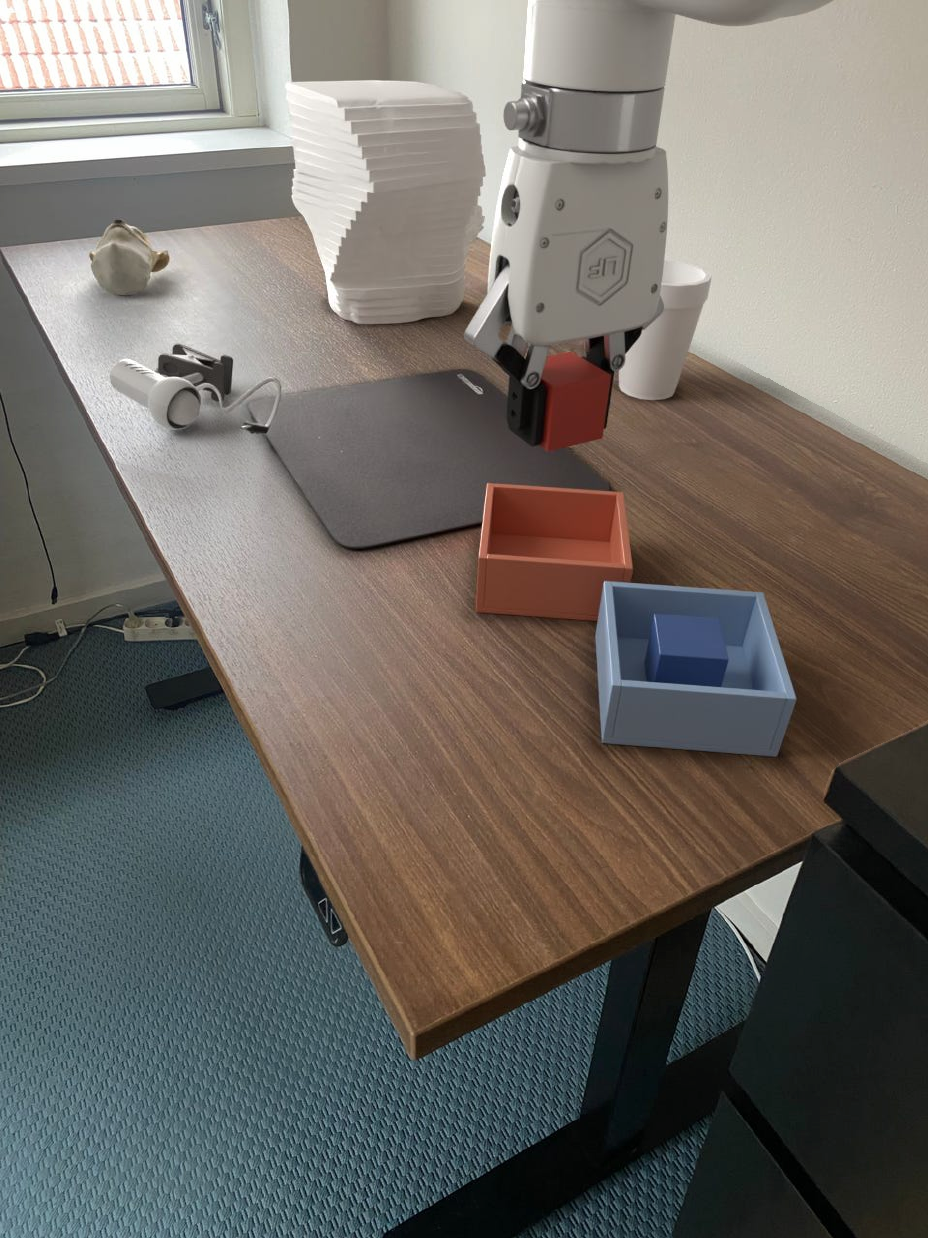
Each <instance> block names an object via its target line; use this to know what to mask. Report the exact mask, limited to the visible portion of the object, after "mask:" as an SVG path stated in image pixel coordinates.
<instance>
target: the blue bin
mask: <svg viewBox="0 0 928 1238" xmlns="http://www.w3.org/2000/svg"><path fill="white" fill-rule="evenodd" d="M654 614H665V615H679V616H692V617H706V618H718V619H719V621H720V625H721V629H722V633H723V637H724V641H725V646H726V650H727V654H728V658H729V661H728V665H727V668H726V672H725V676H724V679H723V683H722V687H709V686H696V685H683V684H670V683H657V682H647V681H646V673H645V665H644V661H645V656H646V652H647V647H648V642H649V637H650V632H651V627H652V622H653V617H654ZM772 619H773V618H772V616H771V613H770V610H769V606H768V604H767V600H766V597H765V594H764V592H761V591H748V590H735V589H734V590H733V589H720V588H708V587H707V588H705V587H693V586H678V585H666V584H665V585H664V584H652V583H651V584H649V583H639V582H638V583H635V582H631V583H625V582H610V581H604V584H603V590H602V597H601V603H600V609H599V616H598V621H596V622H597V623H596V628H595V629H596V630H595V637H594V638H595V652H596V654H595V655H596V669H597V685H598V702H599V703H598V704H599V718H600V719H599V720H600V736H601V743H602V744H609V745H623V746H636V747H647V748H659V749H671V750H672V749H673V750H687V751H697V752H698V751H699V752H711V753H712V752H713V753H725V754H736V755H747V756H761V757H762V756H764V757H774V758H776V757H778V754H779V753H780V749H781V746H782V743H783V740H784V738H785V735H786V732H787V728H788V726H789V723H790V720H791V717H792V714H793V711H794V708H795V705H796V702H797V696H796V692H795V689H794V686H793V683H792V680H791V676H790V674H789V670H788V666H787V664H786V661H785V658H784V654H783V651H782V647H781V645H780V642H779V638H778V636H777V632H776V629H775V626H774V622H773V620H772Z"/></svg>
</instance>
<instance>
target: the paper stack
mask: <svg viewBox="0 0 928 1238" xmlns="http://www.w3.org/2000/svg"><path fill="white" fill-rule="evenodd" d="M284 89H285V96H286V101H287V108H288V109H287V111H288V113H289V114H290V115H289V118H290V130H291V131H290V133H291V143H292V150H293V159H294V164H295V165H294V167H295V169H293V170H292V171H293V177H292V179H291V180H292V186H291V193H292V194H290V196H291V200H292V203H293V206H294V207H295V209H296V210H297V211H298V212H299V214H301V215H302V216H303V217H304V220H305V222H306V224H307V226H308V228H309V230H310V232H311V235H312V238H313V242H314V244H315V247H316V249H317V254H318V256H319V260H320V262H321V265H322V268H323V271H324V274H325V280H326V287H327V295H328V297H327V298H328V303H329V306H330V308H331V310H332V311H333V312H334V313H336V314H337V315H338V317H340V318H341V319H342V320H345V321H350V322H353V323H355V324H358V325H380V324H381V325H386V324H405V323H412V322H417V321H420V320H422V319H427V318H439V317H445V316H450V315H452V314H454V313H455V312H456V311H458V309H459V308H460V306H461V305H462V302H463V300H464V299H465V296H466V292H467V281H466V275H465V274H466V273H465V272H466V270H465V269H466V261H467V259H468V256H469V252H468V249H469V247H470V246H471V245H473V244H476V242H477V240H478V239H479V238H478V236H479V234H480V233H481V232H482V231H483V230H484V226H483V225H484V222H485V219H486V216H484V215H483V207H482V205H479V197H480V196H482V195H481V194H482V193H481V188H482V187H484V177H486V176H487V175H486V174H487V173H486V172H487V171H486V165H485V160H484V154H483V144H482V135H481V124H480V123H478V121H477V112H476V111H474V105H473V101H472V100H471V99H469V97H468V96H467V95H465V94H464V93H462V92H459V91H455V90H453V89H451V90H450V89H447V88H444V87H442V86H441V85H438V84H437V85H436V84H431V83H426V82H421V81H413V80H412V81H408V80H376V79H369V80H368V79H366V80H363V79H362V80H320V81H318V80H317V81H315V80H314V81H286V82H285V85H284Z"/></svg>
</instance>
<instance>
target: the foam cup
mask: <svg viewBox="0 0 928 1238" xmlns="http://www.w3.org/2000/svg"><path fill="white" fill-rule="evenodd" d="M712 277H713V275H712V274H711V272H710V271H708V269H707V268H704V267H702V266H700V265H698V264H695V263H692V262H688V261H683V260H679V259H671V258H664V267H663V276H662V283H661V291H660V296H661V299H662V301H663V303H664V309H663V312H662V313H661V314H660V315H659V316H658V317H657V318H656V319H655V320H654V321H653V322H652V323H651V324H650V325H649V326H648V327H647V328H646V329H645V330H642V333H641V335H640V337H639V338H638V340H637V341H636V342H635V343H634V345H633V346H632V347H631V348H630V349H629V351H628V352H627V353H626V354H625V364H624V366H623V367H622V368H621V369H620V370H619V371H618V387H619V390H620V391H621V392H622V393H623V394H625V395H627V396H629V397H632V398H635V399H639V400H644V401H645V400H647V401H660V400H666V399H669V398H671V397H673V396H674V394H675V392H676V389H677V387H678V384H679V381H680V378H681V376H682V372H683V369H684V366H685V363H686V359H687V357H688V353H689V350H690V347H691V344H692V341H693V338H694V335H695V332H696V329H697V325H698V323H699V321H700V317H701V314H702V311H703V307H704V305H705V303H706V301H707V300H708V298H709V293H710V288H711V282H712Z"/></svg>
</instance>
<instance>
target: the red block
mask: <svg viewBox="0 0 928 1238" xmlns="http://www.w3.org/2000/svg"><path fill="white" fill-rule="evenodd" d="M581 357H582V356H579V355H578V354H577V353H575V352H572V351H566V352H561V353H557V354H551V355H548V356H547V360H546V363H545V367H544V370H543V374H542V378H541V381H540V384H541V385H543V386H544V387H546V390H547V396H546V407H545V417H544V428H543V438H542V442H541V444H540V445H539V446H541V447H542V448H543V449H545V450H546V451H547V452H549V451H553V450H557V449H561V448H565V447H567V448H569V447H574V446H577V445H581V444H585V443H589V442H594V441H597V440H601V439H603V438H604V431H605V429H604V424H605V417H606V409H607V402H608V395H609V388H610V381H611V375H610V374H608V373H607V372H605V371H603V370H602V369H600V368H598V367H597V366H595V365H593V364H591V363H590V362H588V361H586V360H585V359H583V358H581Z"/></svg>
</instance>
